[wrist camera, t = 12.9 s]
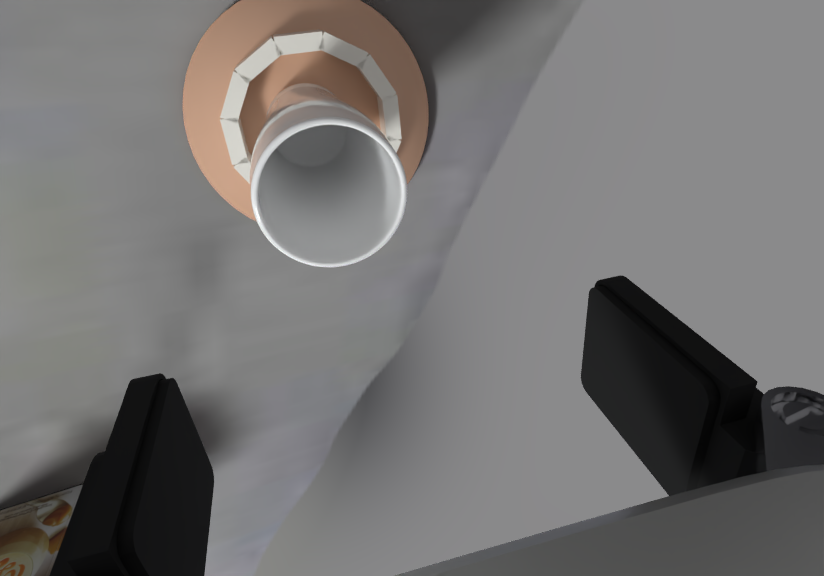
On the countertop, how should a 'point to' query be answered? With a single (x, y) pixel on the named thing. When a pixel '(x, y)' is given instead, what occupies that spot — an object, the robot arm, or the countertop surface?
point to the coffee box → (35, 533)
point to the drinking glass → (324, 179)
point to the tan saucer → (296, 81)
